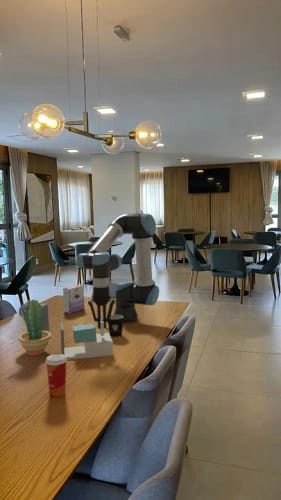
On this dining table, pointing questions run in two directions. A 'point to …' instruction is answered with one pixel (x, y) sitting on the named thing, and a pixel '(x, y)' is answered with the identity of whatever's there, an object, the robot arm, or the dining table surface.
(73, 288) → the candy box
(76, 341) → the carton
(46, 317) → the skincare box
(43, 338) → the potted cactus
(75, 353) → the display stand
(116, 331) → the coffee mug
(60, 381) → the paper cup
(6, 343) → the dining table surface
